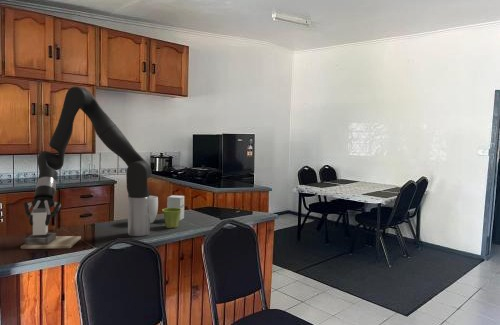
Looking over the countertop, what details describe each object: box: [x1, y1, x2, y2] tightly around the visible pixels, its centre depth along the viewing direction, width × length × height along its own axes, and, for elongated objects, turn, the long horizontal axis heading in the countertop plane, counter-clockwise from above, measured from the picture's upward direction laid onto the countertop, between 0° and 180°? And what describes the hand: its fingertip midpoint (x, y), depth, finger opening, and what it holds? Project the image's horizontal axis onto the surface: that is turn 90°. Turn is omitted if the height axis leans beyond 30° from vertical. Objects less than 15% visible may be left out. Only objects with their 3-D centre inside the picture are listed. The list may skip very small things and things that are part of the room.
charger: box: [32, 208, 49, 235], centre depth 152 cm, size 4×4×10 cm
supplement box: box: [166, 194, 185, 222], centre depth 203 cm, size 7×7×13 cm
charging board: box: [20, 232, 82, 250], centre depth 154 cm, size 18×14×4 cm
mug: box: [149, 195, 159, 224], centre depth 193 cm, size 15×11×13 cm
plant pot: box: [161, 207, 182, 229], centre depth 187 cm, size 9×9×9 cm
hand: (39, 224), depth 150 cm, fingers closed on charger, 4 cm apart
